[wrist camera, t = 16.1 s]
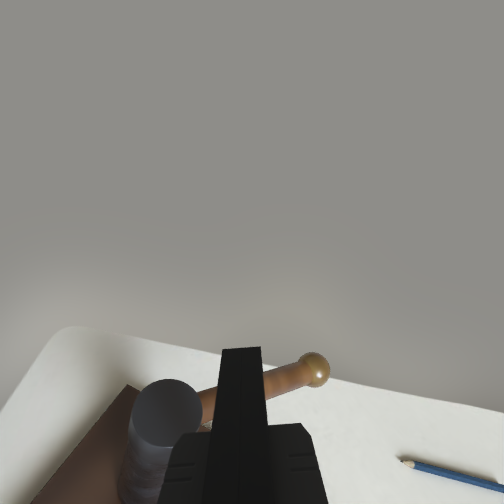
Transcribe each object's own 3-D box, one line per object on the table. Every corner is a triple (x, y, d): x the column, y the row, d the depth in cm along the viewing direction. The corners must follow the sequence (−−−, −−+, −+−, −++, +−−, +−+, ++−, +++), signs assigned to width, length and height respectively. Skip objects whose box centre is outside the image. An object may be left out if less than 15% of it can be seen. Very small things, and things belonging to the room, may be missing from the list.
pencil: (504, 494, 41) (399, 466, 39) (499, 486, 41) (397, 458, 40) (509, 492, 40) (403, 463, 39) (504, 483, 41) (400, 455, 39)
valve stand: (5, 542, 24) (-12, 482, 18) (125, 391, 35) (138, 326, 30) (167, 646, 22) (205, 616, 16) (236, 452, 34) (272, 396, 28)
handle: (135, 479, 20) (142, 457, 19) (121, 410, 23) (125, 385, 22) (332, 396, 31) (348, 377, 29) (304, 355, 34) (317, 336, 32)
